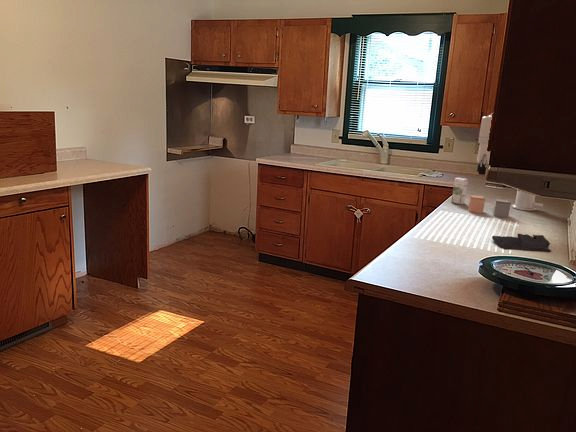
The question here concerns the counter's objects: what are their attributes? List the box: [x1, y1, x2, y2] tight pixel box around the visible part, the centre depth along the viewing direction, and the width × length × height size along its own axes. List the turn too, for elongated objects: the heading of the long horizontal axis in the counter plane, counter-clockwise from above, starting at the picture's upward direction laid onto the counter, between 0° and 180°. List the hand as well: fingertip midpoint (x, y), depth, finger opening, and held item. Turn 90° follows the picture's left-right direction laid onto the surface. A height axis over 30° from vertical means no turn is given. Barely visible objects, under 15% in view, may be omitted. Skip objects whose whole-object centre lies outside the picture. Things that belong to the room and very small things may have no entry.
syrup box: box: [451, 177, 469, 205], centre depth 286 cm, size 6×6×14 cm
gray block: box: [492, 198, 512, 219], centre depth 261 cm, size 7×7×8 cm
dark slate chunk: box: [491, 233, 552, 253], centre depth 208 cm, size 15×22×5 cm
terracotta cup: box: [467, 194, 486, 214], centre depth 268 cm, size 7×7×8 cm
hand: (480, 173), depth 264 cm, fingers open, 9 cm apart
